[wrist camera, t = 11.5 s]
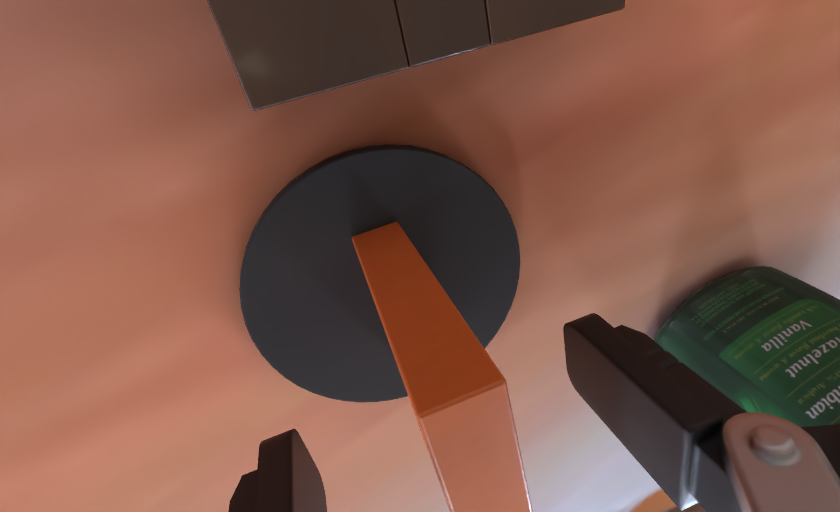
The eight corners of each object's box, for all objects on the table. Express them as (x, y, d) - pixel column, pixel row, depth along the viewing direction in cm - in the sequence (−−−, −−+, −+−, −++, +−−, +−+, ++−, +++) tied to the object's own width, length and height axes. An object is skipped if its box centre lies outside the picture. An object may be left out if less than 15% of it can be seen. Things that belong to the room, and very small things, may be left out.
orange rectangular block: (392, 351, 16) (473, 575, 9) (350, 236, 14) (416, 417, 7) (431, 336, 16) (539, 542, 9) (397, 220, 14) (507, 379, 7)
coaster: (303, 427, 17) (304, 438, 17) (184, 199, 13) (179, 205, 12) (526, 340, 19) (533, 348, 18) (493, 107, 14) (501, 108, 13)
